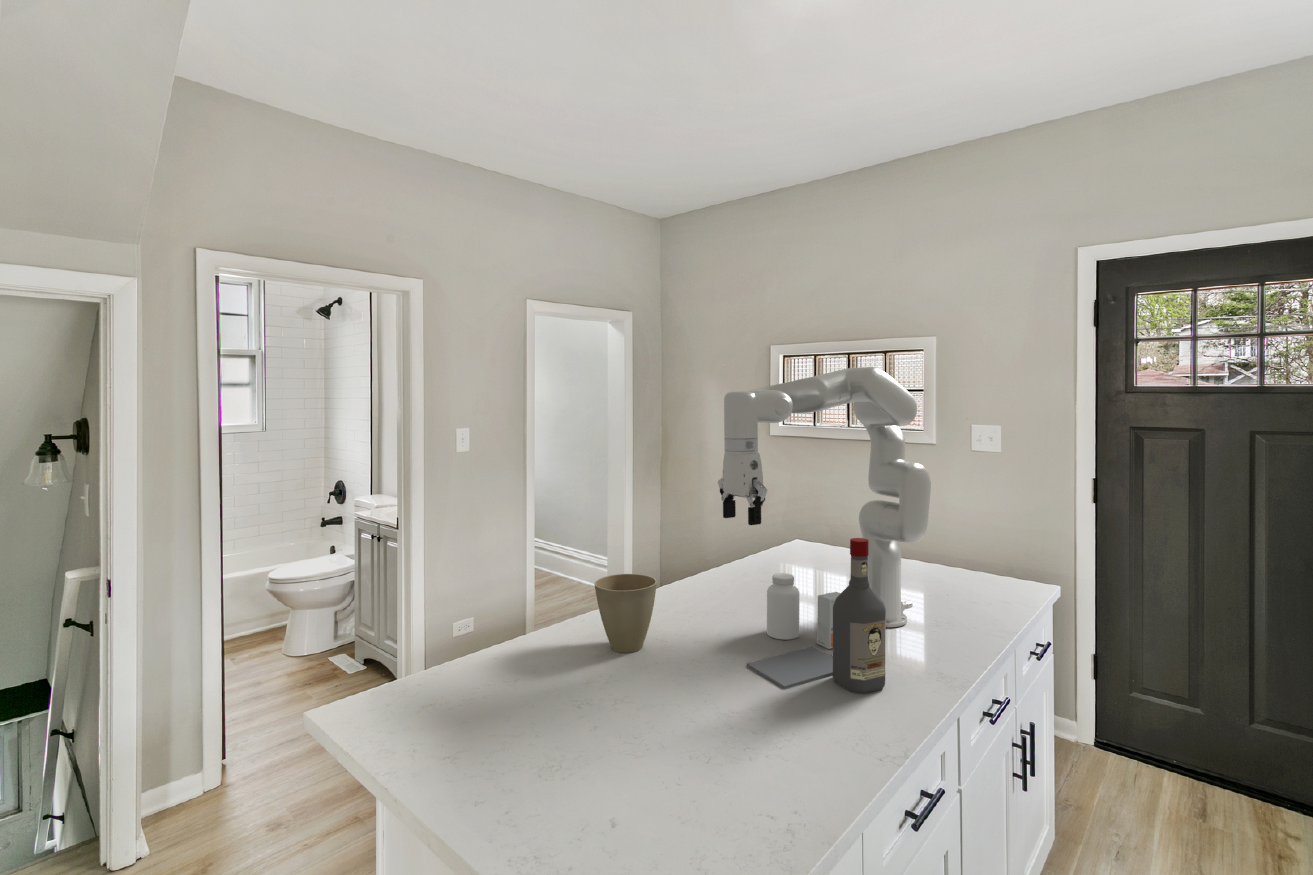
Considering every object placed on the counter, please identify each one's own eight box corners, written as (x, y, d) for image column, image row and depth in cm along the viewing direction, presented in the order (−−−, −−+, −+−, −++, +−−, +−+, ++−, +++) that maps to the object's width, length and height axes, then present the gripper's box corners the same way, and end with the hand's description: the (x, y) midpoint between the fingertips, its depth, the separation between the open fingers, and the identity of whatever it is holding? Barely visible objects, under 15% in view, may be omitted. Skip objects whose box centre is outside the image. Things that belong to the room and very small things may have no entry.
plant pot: (670, 645, 154) (669, 580, 153) (626, 664, 143) (625, 595, 142) (627, 630, 164) (626, 569, 163) (583, 647, 153) (581, 582, 152)
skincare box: (829, 649, 150) (829, 599, 149) (816, 643, 153) (816, 594, 153) (848, 644, 152) (848, 595, 152) (835, 639, 156) (835, 590, 155)
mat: (812, 648, 150) (812, 646, 150) (853, 668, 139) (853, 666, 139) (746, 665, 142) (746, 663, 141) (784, 688, 130) (784, 686, 130)
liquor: (826, 678, 135) (826, 537, 133) (861, 670, 138) (861, 533, 136) (856, 696, 126) (856, 546, 124) (892, 687, 130) (893, 541, 128)
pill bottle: (799, 641, 155) (799, 580, 154) (766, 639, 157) (765, 579, 156) (799, 629, 163) (799, 571, 162) (767, 628, 164) (766, 570, 163)
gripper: (778, 447, 139) (779, 525, 140) (732, 443, 154) (733, 513, 155) (750, 449, 135) (751, 529, 136) (706, 444, 151) (707, 516, 152)
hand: (741, 520), depth 146 cm, fingers open, 9 cm apart
